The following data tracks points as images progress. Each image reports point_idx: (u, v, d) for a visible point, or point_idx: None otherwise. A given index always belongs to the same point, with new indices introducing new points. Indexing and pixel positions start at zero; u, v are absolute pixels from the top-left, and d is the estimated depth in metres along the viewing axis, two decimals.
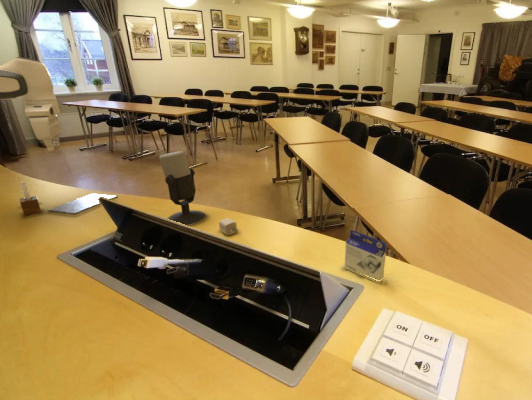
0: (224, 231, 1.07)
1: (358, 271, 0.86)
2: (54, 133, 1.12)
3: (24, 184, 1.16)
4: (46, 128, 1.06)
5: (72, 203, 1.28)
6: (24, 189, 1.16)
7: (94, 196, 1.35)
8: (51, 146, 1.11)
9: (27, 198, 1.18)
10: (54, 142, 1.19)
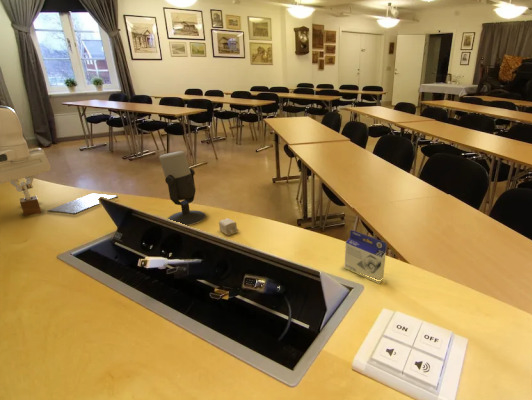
0: (224, 231, 1.07)
1: (358, 271, 0.86)
2: (14, 177, 1.12)
3: (24, 184, 1.16)
4: None
5: (72, 203, 1.28)
6: None
7: (94, 196, 1.35)
8: (18, 187, 1.14)
9: (27, 198, 1.18)
10: None
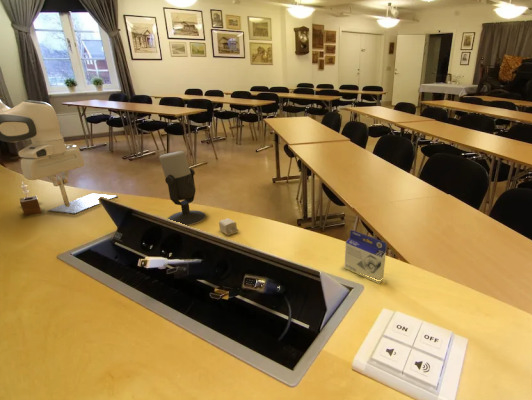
0: (224, 231, 1.07)
1: (358, 271, 0.86)
2: (52, 172, 1.14)
3: (60, 179, 1.18)
4: (29, 170, 1.07)
5: (72, 203, 1.28)
6: None
7: (94, 196, 1.35)
8: (55, 182, 1.17)
9: (63, 193, 1.20)
10: None
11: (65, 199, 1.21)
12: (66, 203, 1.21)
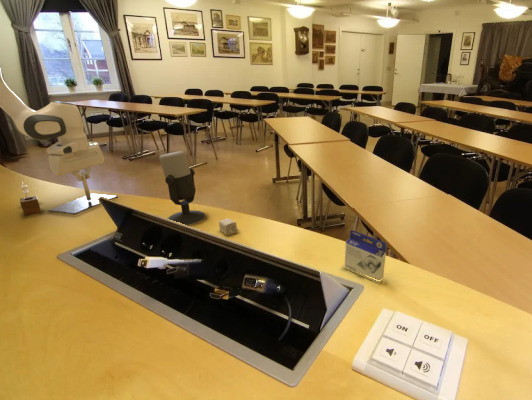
0: (224, 231, 1.07)
1: (358, 271, 0.86)
2: (76, 168, 1.23)
3: (83, 174, 1.27)
4: (56, 166, 1.16)
5: (72, 203, 1.28)
6: None
7: (94, 196, 1.35)
8: (78, 177, 1.25)
9: (85, 187, 1.28)
10: None
11: (87, 193, 1.29)
12: (88, 197, 1.30)
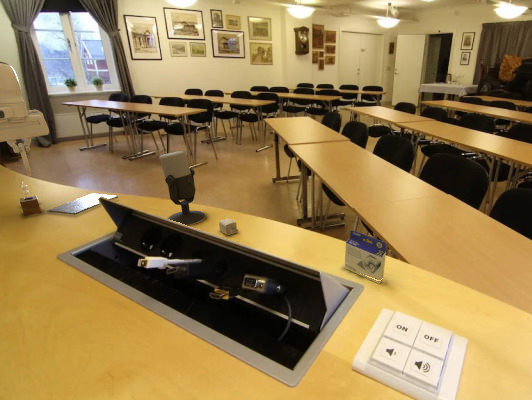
0: (224, 231, 1.07)
1: (358, 271, 0.86)
2: (11, 137, 1.09)
3: (21, 145, 1.13)
4: None
5: (72, 203, 1.28)
6: None
7: (94, 196, 1.35)
8: (15, 148, 1.11)
9: (24, 160, 1.14)
10: None
11: (27, 167, 1.15)
12: (28, 171, 1.16)
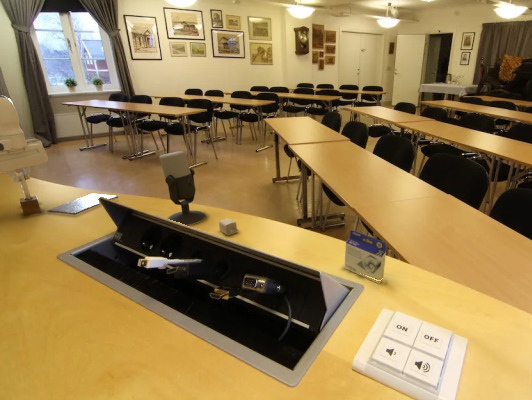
0: (224, 231, 1.07)
1: (358, 271, 0.86)
2: (11, 168, 1.11)
3: (21, 175, 1.15)
4: None
5: (72, 203, 1.28)
6: None
7: (94, 196, 1.35)
8: (15, 178, 1.13)
9: (25, 189, 1.16)
10: None
11: (27, 195, 1.17)
12: None
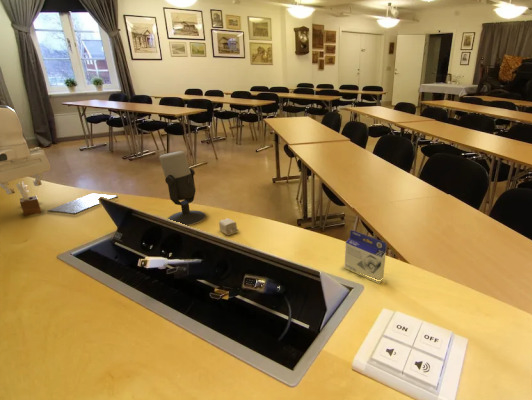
0: (224, 231, 1.07)
1: (358, 271, 0.86)
2: (14, 177, 1.12)
3: (20, 185, 1.15)
4: None
5: (72, 203, 1.28)
6: (21, 190, 1.15)
7: (94, 196, 1.35)
8: (8, 190, 1.11)
9: (25, 199, 1.17)
10: (34, 182, 1.20)
11: None
12: None
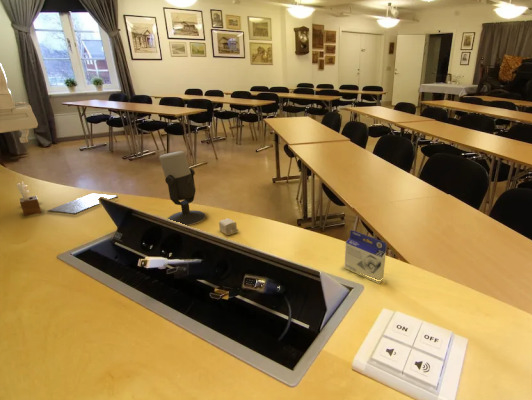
0: (224, 231, 1.07)
1: (358, 271, 0.86)
2: None
3: (20, 185, 1.15)
4: None
5: (72, 203, 1.28)
6: (21, 190, 1.15)
7: (94, 196, 1.35)
8: None
9: (25, 199, 1.17)
10: (20, 138, 1.14)
11: None
12: None
